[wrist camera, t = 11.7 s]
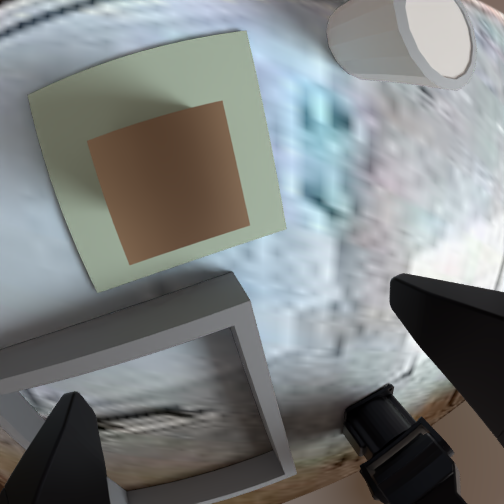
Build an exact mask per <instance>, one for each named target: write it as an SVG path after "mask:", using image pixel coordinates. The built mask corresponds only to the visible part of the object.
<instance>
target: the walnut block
mask: <svg viewBox="0 0 504 504" xmlns="http://www.w3.org/2000/svg"><path fill="white" fill-rule="evenodd" d="M87 143H88V147H89V150H90V154H91V157H92V160H93V164H94V167H95V170H96V174H97V177H98V180H99V183H100V186H101V189H102V192H103V195H104V198H105V201H106V204H107V207H108V210H109V213H110V215H111V218H112V221H113V224H114V226H115V229H116V232H117V234H118V237H119V240H120V242H121V245H122V248H123V250H124V253H125V255H126V258H127V260H128V263H129V265H132V264H135V263H138V262H141V261H144V260H147V259H150V258H153V257H156V256H159V255H162V254H165V253H168V252H171V251H174V250H177V249H180V248H183V247H186V246H189V245H192V244H195V243H198V242H201V241H204V240H207V239H210V238H213V237H216V236H219V235H222V234H225V233H228V232H231V231H235V230H238V229H241V228H244V227H247V226H250V222H249V217H248V213H247V208H246V204H245V199H244V195H243V190H242V186H241V181H240V177H239V172H238V168H237V163H236V159H235V154H234V150H233V145H232V141H231V136H230V132H229V127H228V123H227V118H226V114H225V109H224V105H223V100H222V101H217V102H213V103H208V104H204V105H200V106H196V107H192V108H188V109H184V110H181V111H177V112H173V113H170V114H166V115H163V116H159V117H156V118H152V119H149V120H146V121H143V122H139V123H136V124H133V125H130V126H127V127H124V128H121V129H118V130H115V131H112V132H110V133H107V134H104V135H101V136H99V137H96V138H93V139H91V140H88V141H87Z"/></svg>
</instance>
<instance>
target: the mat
mask: <svg viewBox="0 0 504 504" xmlns="http://www.w3.org/2000/svg"><path fill="white" fill-rule="evenodd" d="M28 99H29V104H30V108H31V112H32V117H33V121H34V125H35V129H36V132H37V136H38V140H39V143H40V147H41V150H42V154H43V157H44V160H45V163H46V167H47V170H48V173H49V176H50V179H51V182H52V185H53V188H54V191H55V194H56V196H57V199H58V202H59V205H60V207H61V210H62V213H63V215H64V218H65V221H66V223H67V226H68V228H69V231H70V233H71V235H72V238H73V240H74V243H75V245H76V247H77V250H78V252H79V254H80V257H81V259H82V261H83V263H84V266H85V268H86V270H87V272H88V274H89V276H90V278H91V281H92V283H93V285H94V287H95V289H96V291H97V293H100V292H103V291H106V290H109V289H111V288H114V287H117V286H120V285H123V284H126V283H129V282H132V281H135V280H137V279H140V278H143V277H146V276H149V275H152V274H155V273H158V272H161V271H164V270H167V269H169V268H172V267H175V266H178V265H181V264H184V263H187V262H190V261H193V260H196V259H199V258H202V257H205V256H208V255H211V254H213V253H216V252H219V251H222V250H225V249H228V248H231V247H234V246H237V245H240V244H243V243H246V242H249V241H252V240H255V239H258V238H261V237H264V236H267V235H270V234H273V233H276V232H279V231H282V230H285V229H286V223H285V217H284V212H283V206H282V200H281V195H280V189H279V184H278V179H277V173H276V168H275V163H274V158H273V153H272V148H271V142H270V137H269V132H268V128H267V123H266V118H265V113H264V108H263V103H262V99H261V94H260V89H259V85H258V80H257V75H256V71H255V66H254V62H253V58H252V53H251V49H250V44H249V40H248V36H247V32H246V31H239V32H232V33H225V34H218V35H212V36H207V37H201V38H196V39H191V40H186V41H181V42H177V43H173V44H168V45H164V46H160V47H156V48H152V49H149V50H145V51H141V52H138V53H134V54H131V55H128V56H124V57H121V58H118V59H115V60H112V61H109V62H106V63H103V64H100V65H97V66H95V67H92V68H89V69H87V70H84V71H81V72H79V73H76V74H74V75H71V76H69V77H66V78H64V79H62V80H59V81H57V82H55V83H52V84H50V85H48V86H46V87H44V88H41V89H39V90H37V91H35V92H33V93H31V94H29V95H28ZM222 100H223V105H224V109H225V114H226V118H227V123H228V127H229V132H230V136H231V141H232V145H233V150H234V154H235V159H236V163H237V168H238V172H239V177H240V181H241V186H242V190H243V195H244V199H245V204H246V208H247V213H248V217H249V222H250V226H247V227H244V228H241V229H238V230H235V231H231V232H228V233H225V234H222V235H219V236H216V237H213V238H210V239H207V240H204V241H201V242H198V243H195V244H192V245H189V246H186V247H183V248H180V249H177V250H174V251H171V252H168V253H165V254H162V255H159V256H156V257H153V258H150V259H147V260H144V261H141V262H138V263H135V264H132V265H129V263H128V260H127V258H126V255H125V253H124V250H123V248H122V245H121V242H120V240H119V237H118V234H117V232H116V229H115V226H114V224H113V221H112V218H111V215H110V213H109V210H108V207H107V204H106V201H105V198H104V195H103V192H102V189H101V186H100V183H99V180H98V177H97V174H96V170H95V167H94V164H93V160H92V157H91V154H90V150H89V147H88V143H87V141H88V140H91V139H93V138H96V137H99V136H101V135H104V134H107V133H110V132H112V131H115V130H118V129H121V128H124V127H127V126H130V125H133V124H136V123H139V122H143V121H146V120H149V119H152V118H156V117H159V116H163V115H166V114H170V113H173V112H177V111H181V110H184V109H188V108H192V107H196V106H200V105H204V104H208V103H213V102H217V101H222Z"/></svg>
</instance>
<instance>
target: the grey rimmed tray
mask: <svg viewBox="0 0 504 504" xmlns="http://www.w3.org/2000/svg"><path fill="white" fill-rule="evenodd" d="M228 327H230V328H231V331H232V334H233V338H234V341H235V344H236V347H237V350H238V352H239V355H240V358H241V361H242V364H243V367H244V370H245V373H246V376H247V379H248V382H249V385H250V387H251V390H252V393H253V396H254V399H255V402H256V404H257V407H258V410H259V413H260V415H261V418H262V421H263V424H264V426H265V429H266V432H267V435H268V437H269V440H270V443H271V445H272V448H273V451H271V452H268V453H265V454H263V455H260V456H257V457H255V458H252V459H249V460H246V461H243V462H241V463H238V464H235V465H232V466H229V467H225V468H222V469H219V470H216V471H212V472H209V473H206V474H202V475H199V476H195V477H191V478H187V479H184V480H180V481H176V482H171V483H167V484H163V485H158V486H153V487H148V488H143V489H138V490H132V491H125V490H124V489H123V488H121V487H120V486H119V485H117V484H116V483H115V482H113V481H112V480H111V479H109V478H108V477H107V482H108V490H109V497H110V503H111V504H211V503H215V502H218V501H222V500H225V499H229V498H232V497H235V496H238V495H241V494H244V493H247V492H250V491H253V490H256V489H259V488H262V487H265V486H267V485H270V484H273V483H275V482H278V481H280V480H283V479H285V478H288V477H290V476H293V475H295V474H297V472H296V469H295V465H294V462H293V458H292V454H291V451H290V447H289V443H288V440H287V436H286V433H285V429H284V425H283V422H282V418H281V414H280V411H279V407H278V403H277V399H276V396H275V392H274V388H273V385H272V381H271V377H270V373H269V370H268V366H267V362H266V358H265V355H264V351H263V347H262V343H261V339H260V336H259V332H258V328H257V324H256V320H255V316H254V313H253V309H252V305H251V301H250V299H249V297H248V296H247V294H246V293H245V291H244V289H243V288H242V286H241V284H240V283H239V281H238V280H237V278H236V276H235V275H234V273H233V272H231V273H228V274H225V275H222V276H219V277H216V278H213V279H210V280H208V281H205V282H202V283H199V284H196V285H193V286H190V287H187V288H184V289H181V290H179V291H176V292H173V293H170V294H167V295H164V296H161V297H158V298H155V299H152V300H149V301H146V302H143V303H140V304H137V305H134V306H132V307H129V308H126V309H123V310H120V311H117V312H114V313H111V314H108V315H105V316H102V317H99V318H96V319H93V320H90V321H87V322H84V323H81V324H78V325H75V326H72V327H69V328H66V329H63V330H60V331H57V332H53V333H50V334H47V335H44V336H41V337H38V338H35V339H32V340H29V341H26V342H23V343H20V344H17V345H14V346H10V347H7V348H4V349H1V350H0V426H1V427H2V428H3V429H4V430H5V431H6V432H7V433H8V434H9V435H10V436H11V437H12V438H13V439H14V440H15V441H16V442H18V443H19V444H20V445H21V446H22V447H23V448H24V449H25V450H27V448H28V447H29V445H30V444H31V442H32V441H33V439H34V437H35V436H36V434H37V433H38V431H39V430H40V428H41V427H42V425H43V424H44V422H45V420H44V419H43V418H42V417H41V416H40V415H39V414H38V413H37V412H36V411H35V410H34V409H33V408H32V406H31V405H30V404H29V403H28V402H27V401H26V400H25V399H24V397H23V396H22V395H21V394H20V393H19V392H18V391H20V390H25V389H29V388H33V387H37V386H41V385H45V384H49V383H53V382H56V381H60V380H64V379H68V378H71V377H75V376H79V375H82V374H86V373H89V372H93V371H96V370H100V369H103V368H107V367H110V366H113V365H117V364H120V363H123V362H127V361H130V360H133V359H136V358H140V357H143V356H146V355H149V354H152V353H155V352H158V351H161V350H164V349H168V348H171V347H174V346H177V345H180V344H183V343H185V342H188V341H191V340H194V339H197V338H200V337H203V336H206V335H209V334H211V333H214V332H217V331H220V330H223V329H225V328H228Z"/></svg>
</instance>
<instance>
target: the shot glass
mask: <svg viewBox="0 0 504 504" xmlns="http://www.w3.org/2000/svg"><path fill="white" fill-rule="evenodd" d="M326 33H327V39H328V45H329V48H330V50H331V52H332V54H333V56H334V58H335V60H336V62H337V63H338V64H339V65H340V66H341V67H342V68H343V69H344V70H345V71H346V72H347V73H348V74H350V75H352V76H355V77H357V78H359V79H361V80H370V81H383V82H393V83H403V84H411V85H419V86H426V87H432V88H439V89H446V90H455V91H458V90H459V89H461V88H462V87H464V86H465V85H467V84H468V83H469V81H470V79H471V77H472V75H473V73H474V71H475V67H476V56H477V47H476V40H475V34H474V29H473V26H472V24H471V21H470V19H469V16H468V14H467V11H466V9H465V7H464V6H463V4H462V3H461V1H460V0H350V1H348V2H347V3H345V4H343V5H342V6H340V7H338V8H337V9H336V10H335V12H334V13H333V14H332V15H331V16H330V17H329V21H328V26H327V30H326Z"/></svg>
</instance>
